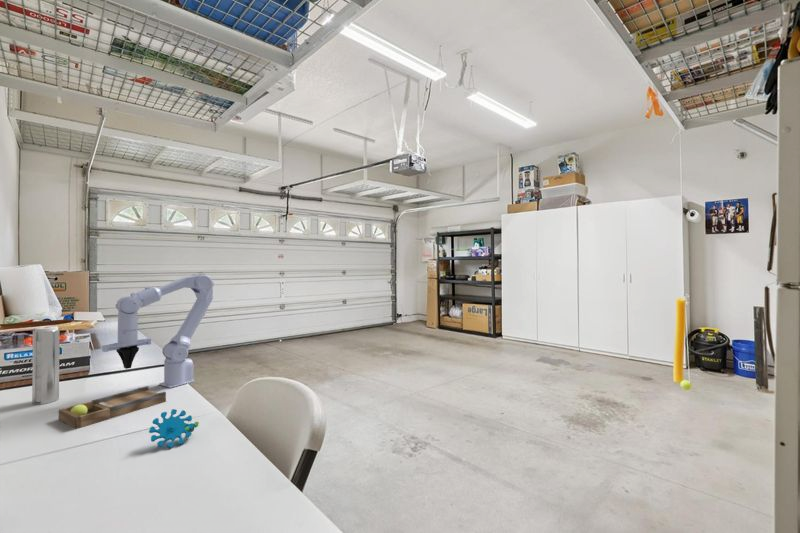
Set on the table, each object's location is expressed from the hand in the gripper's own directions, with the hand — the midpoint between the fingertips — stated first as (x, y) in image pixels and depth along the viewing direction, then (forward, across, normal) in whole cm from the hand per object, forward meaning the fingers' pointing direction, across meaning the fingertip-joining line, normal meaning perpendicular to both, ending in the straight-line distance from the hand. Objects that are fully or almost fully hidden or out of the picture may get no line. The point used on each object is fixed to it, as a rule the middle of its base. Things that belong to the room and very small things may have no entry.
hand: (127, 367), depth 130 cm
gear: (+10, +12, +50) cm, 53 cm away
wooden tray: (+9, +9, +13) cm, 18 cm away
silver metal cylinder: (+10, +17, -16) cm, 25 cm away
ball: (+7, +18, +12) cm, 22 cm away
